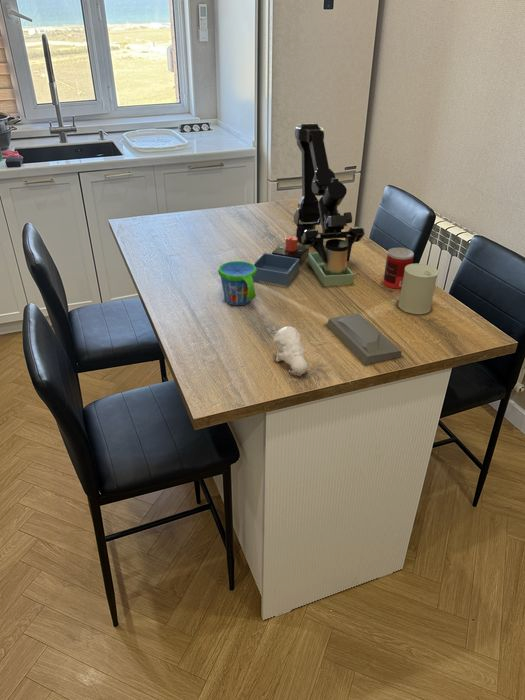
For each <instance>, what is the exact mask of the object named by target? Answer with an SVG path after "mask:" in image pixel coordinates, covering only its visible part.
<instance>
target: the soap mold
mask: <svg viewBox="0 0 525 700" xmlns="http://www.w3.org/2000/svg"><path fill="white" fill-rule="evenodd" d="M326 327H327V328H328V329H329V330H330V331H331V332H332V333H333V334H334V335H335V336H336V337H337V338H338V339H339V340H340V341H341V342H342V343H343V344H344V346H346V347H347V348H348V349H349V350H350V351H351V352H352V353H353V354H354V355H355V356H356V357H357V358H358V360H360V362H362V363H363V365H364V366H367V365H372V364H375V363H380V362H381V363H382V362H384V361H388V360H389V361H390V360H393V359H397V358H402V349H400V348H399V347H398V346H397V345H396V344H394V343H393V342H392V341H391V340H390V339H389V338H388V337H387V336H385V335H384V334H383V333H382V332H381V331H380V330H378V329H377V327H375V326H374V325H373V324H372V323H371V322H369V321H368V320H367V319H366V318H365V317H364V316H362V315H361V314H360V313H352V314H345V315H340V316H335V317H331V318H328V320H327V324H326Z"/></svg>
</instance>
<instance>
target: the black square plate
mask: <svg viewBox="0 0 525 700" xmlns="http://www.w3.org/2000/svg"><path fill="white" fill-rule="evenodd" d="M308 253H310V245H302V244H297V250H296V251H292V252H291V251H287V250H285V242H284V241H281V242H280V243H279V244H278V245H277V247H276V248H275V249H274V250H272V252H271V254H274V255H280V256H286V257H292V258H298V259H300V265H301V264H302V263H303V262H304V260H305V259H306V258H308Z"/></svg>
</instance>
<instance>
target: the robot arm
mask: <svg viewBox="0 0 525 700" xmlns="http://www.w3.org/2000/svg"><path fill="white" fill-rule="evenodd" d="M294 138H295V139H296V145H297V147H298V149H299V150H300V152H301V198H300V199H299V201H298V202H297V209H296V210H295V212H294V214H293V223H294V224H295V226H296V231H295V237H297V238H298V242H299V243H301V245H303V246H309V248H313V249H314V250H315V252H316V253H317V252H318V254H319V255H320V257H321V258H322V260H323V261H324V263H326V262H327V258H326V253H325V249H326V248H325V244H324V240H330V239H344V240H345V241H347V242H348V243H349V248H348V254H347V263H349V261H350V258H351V252H352V247H353V245H354V244H355V243H358V242H360V241H361V240H362V239H363V238H364V236H365V235H366V233H365V229H364V228H363V227H362V226H353V227H352V226H351V227H350V228H349V229H348V231H344V229H345V227H348V226H347V225H348V224H352V223H353V215H352V212H351V211H347V212H344V213H343V214H341V213H340V212H339V208H338V207H339V206H340V205H341V204H342V202H343V200H344V198H345V197H346V195H347V192H348V190H347V187H346V186H345V185H344V183H342V182H340V180H339V178H336V174H335V172H334V171H333V170H332V169H331V167H330V166H329V161H328V155H327V150H326V146H325V141H324V140H325V132H324V128H323V127H321V126H319V124H318V123H299V124H298V126H297V127H295V128H294ZM317 197H320V198H319V199H318V198H317ZM316 226H321V229H322V232H319V230H318V228H316Z"/></svg>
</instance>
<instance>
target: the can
mask: <svg viewBox="0 0 525 700" xmlns="http://www.w3.org/2000/svg"><path fill="white" fill-rule="evenodd" d="M438 275H439V270H438V269H437V268H436V267H434V266H432V265H430V264H426V263H418V262H417V263H412V264H409V265H407V266H406V267H405V271H404V277H403V283H402V289H400V295H399V300H398V303H397V307H398V308H399V310H401V311H402V312H404V313H407V314H412V315H426V314H428V313H430V312H431V310H432V303H433V298H434V293H435V288H436V284H437V279H438Z"/></svg>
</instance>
